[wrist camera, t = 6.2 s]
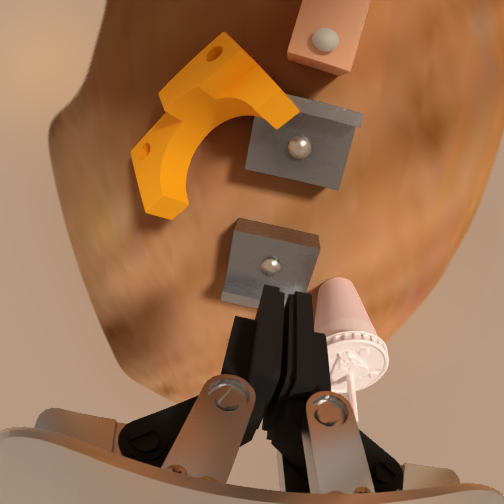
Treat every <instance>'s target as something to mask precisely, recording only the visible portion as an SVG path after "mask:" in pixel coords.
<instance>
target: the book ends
mask: <svg viewBox="0 0 504 504" xmlns="http://www.w3.org/2000/svg"><path fill="white" fill-rule="evenodd" d="M286 96H287V97H288V98H289V99H290V100H291V101H292V102H293V104H294V105H295V106H296V107H297V108H298V109H299V111H300V112H299V113H298V114H297V115H295V116H294V117H293V118H291V119H290V120H289V121H287V122H286V123H285V124H284V125H282V126H281V127H280V128H279V129H277V130H276V129H275V128H274V127H273V126H272V125H271V124H270V123H269V122H267V121H266V120H265V119H263V118H260V117H257V116H254V121H253V127H252V132H251V137H250V143H249V148H248V153H247V159H246V164H245V170H250V171H255V172H260V173H265V174H270V175H274V176H279V177H283V178H288V179H292V180H297V181H301V182H305V183H309V184H314V185H318V186H322V187H326V188H330V189H334V190H339V186H340V183H341V179H342V176H343V172H344V168H345V165H346V161H347V157H348V154H349V150H350V146H351V142H352V139H353V135H354V131H355V127H358V128H360V127H361V123H362V119H363V115H364V114H362V113H358V112H355V111H352V110H348V109H345V108H341V107H338V106H334V105H330V104H327V103H323V102H319V101H315V100H311V99H306V98H302V97H298V96H293V95H288V94H286ZM319 252H320V243H319V237H318V235H314V234H310V233H306V232H301V231H297V230H292V229H288V228H283V227H279V226H274V225H270V224H265V223H260V222H256V221H251V220H246V219H242V218H239V219H238V221H237V224H236V226H235V229H234V233H233V239H232V245H231V250H230V256H229V263H228V269H227V275H226V281H225V284H224V287H223V290H222V295H221V301H224V302H229V303H233V304H238V305H242V306H247V307H252V308H256V309H258V306H259V303H260V299H261V295H262V291H263V287H264V284H266V285H270V286H275V287H279V288H280V292H283V293H285V300H284V307H285V304H286V301H287V298H288V295H289V294H293V295H294V293H295V291H299V292H304V293H306V291H307V288H308V285H309V282H310V279H311V276H312V273H313V270H314V267H315V264H316V261H317V258H318V255H319Z"/></svg>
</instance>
